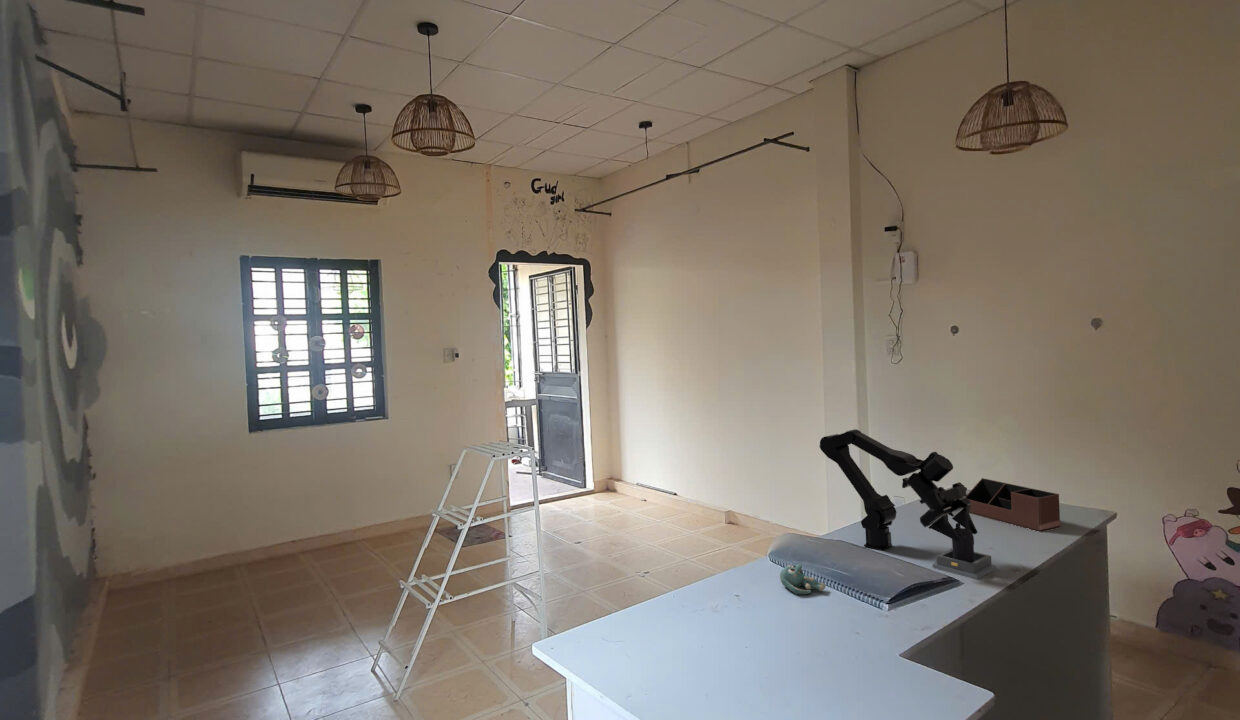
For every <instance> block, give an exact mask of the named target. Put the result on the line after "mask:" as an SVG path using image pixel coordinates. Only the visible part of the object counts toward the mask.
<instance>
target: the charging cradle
mask: <svg viewBox="0 0 1240 720" xmlns="http://www.w3.org/2000/svg"><path fill="white" fill-rule="evenodd" d="M933 567H934V569H936V568H937V570H941V571H945V572H949V573H952V574H956V575H959V576H963V577H966V578H970V579H975V580H979V579H981V578H982V577H984V576H986V575H988V574H989V573H992V572H993V571H995V570H997V564H993V563H992V556H991V555H988V554H984V553H982V552H981V553H980V552H976V551H974V562H972V563H970V562H965V561H961V560H957V559H953V548H951V549H948V550H946V551H944V552H942V553H940V554H937V555H936V562H934V563H932V568H933Z"/></svg>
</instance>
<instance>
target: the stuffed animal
mask: <svg viewBox="0 0 1240 720" xmlns="http://www.w3.org/2000/svg"><path fill="white" fill-rule="evenodd" d="M779 580H780V583H782V586H784V587H785V588H787V589H788V590H790V591H791V592H792V593H793V594H796V595H802V596H803V595H808V594H809V595H810V594H812V590H814V589H816V590H817V591H819V592H823V591H824V590H825V589H826V584H825V583H823V582H819V581H817V579H816V578H815V577H812V576H808V575H806V574H804V569H803V565H802V564H800V563H799V564H797V565H790V564H788V565H786V566H785V567H783V568H782V569H781V570H780V573H779ZM801 586H802V587H804V588H805V589H804V588H801Z"/></svg>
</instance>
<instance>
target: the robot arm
mask: <svg viewBox="0 0 1240 720" xmlns="http://www.w3.org/2000/svg"><path fill="white" fill-rule="evenodd" d="M849 445H853V446H855V447H857V448H859V449H860V450H862V451H864V452H866V453H867V454H870V455H871V456H873V457H874V458H876V459H878V460H879V461H881V462H883V464H884V465H885V468H887V469H888V470H889V471H890V472H892V473H893V474H895V475H896V476H898V477H902V476H906V475H909V474H911V475H909V477H905V478H904V477H903V478H902V483H901V487H902V489H905V488H909V487H910V488H911V489H912V491H914V492H915V495H917V496H918V498H920V500H919V503H920V504H921V505H923V504H925V505H926V506H927V508H928V510H927V511H926V512H925V513H924V514H923V515H921V516H920V517H919V522H920V524H921V525H922V526H923V527H924V528H928V529H929V530H933V531H934V532H935V531H936V532H938V533H939V534H942V535H944V536H946V537H948V538H949V539H951V540H952V539H953V540H955V541H957V542H959V541H960V540H961V538H960V537H959V535H958V534H957V533H956V531H955V530H954V528H955V527H953V526H952V525H951V523H950V521H949V517H950V516H951V517H952V518H951V520H953V521H954V522H956V523H959V524H960V527H962V528H964V529H965V512H968V521H969V529H970V530H971V531H972V533H973V535H977V533H978V530H977V528H976V526H975V524H974V522H973V519H972V517H971V515H970V513H969V510H970V507H971V505H970V504H971V502H970V501H969V500H968V498H966V496H967V494H968V493H967V491H968V488H967V487H966V486H965V485H964V484H963V483H961V482H960V481H959V482H956V483H953V484H952V487H951V488H949V489H945V488H944V487H942V486H939V487H938V485H936V483H937V482H938V483H939V482H940V481H941V480H943V478H944V477H946V476H947V475H948V474H949V473H950V472H951V471H952V470H953V469H954V466H953V464H952V461H951V460H949V458H947V457H945V456H944V455H942V454H939V453H938V452H937V451H932V452H930V453H929V454H928V456H927V457H926V458H925V459H920V458H917V457H916V456H915V455H914V454H911V453H909V452H905V451H902V450H899V449H898V450H896V449H893V448H891V447H889V446H887V445H885V444H883V443H881V442H879V441H878V440H876V439H874V438H872V437H870V436H869V435H867V434H865V433H863V432H861V430H858V429H856V428H854V429H850V430H847V431H845V432H843V433H840V434H838V433H836V434H830V435H825V436H823V437H821V439H820V441H819V445H818V446H819V448H820V450H821V451H822V453H823V454H824V455H825V456H826V457H827V458H828V459H829V460H831V461H833V462H835V463H836V464H837V466H838V467H839V468H840V470H841V472H842V473H843V474H844V476H845V477H846V478H847V480H848V481H849V483H850V484H851V485H852V487H853V488H854V490H855V491H856V492H857V494H858V495H859V497H860V498H861V500H862V501H863V507H864V508H863V509H864V512H865V514H866V516H864V517H863V519H862V520H861V521H860V524H861V526H862V528H863V529H864V530H865V544H863V547H864V546H865V548H870V549H876V550H880V551H885V550H887V549H889V548H890V547H892V546H893V543H892V532H891V531H890V526H892V524H893V521H894V520H895V519H896V518H897V513H898V512H897V509H896V504H895V503H894V502H893V501H891V498H890V497H889V496H888V494H884V495H881V494H879V493H878V492H877V491H876V489H875V488H874V487H873V485H872V484H871V483H870V481H869V480H868V478H867V477H866V475H865V474H864V473H863V471H862V470H861V469H860V467H859V466H858V465H857V463H856V462H855V460H854V459H853V457H852V456H851V453H850V446H849ZM917 471H918V472H917ZM935 482H936V483H935Z"/></svg>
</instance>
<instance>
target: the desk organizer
mask: <svg viewBox="0 0 1240 720" xmlns="http://www.w3.org/2000/svg"><path fill="white" fill-rule="evenodd" d="M966 494H967V496H965V497H966V498H968V500H969V501H970V502H971V504H970V505H971V507H970V510H969V514H972V515H974V516H978V517H983V518H985V519H986V518H987V519H989V520H993V521H997V522H1000V521H1001V522H1000V523H1004V522H1005V523H1004V524H1007V523H1008V525H1011V524H1013V525H1012V526H1015V525H1016V526H1015V527H1018V526H1020V527H1019V528H1022V527H1023V528H1022V529H1026V528H1029V529H1031V530H1030V531H1033V530H1035V531H1034V532H1037V531H1039V532H1038V533H1043V532H1044V531H1045V532H1047V530H1049V531H1052V530H1051V529H1053V530H1057V529H1056V528H1058V529H1061V527H1062V526H1061V514H1060V512H1061V511H1060V494H1059V493H1056V492H1051V491H1046V490H1045V491H1044V490H1040V489H1035V488H1031V487H1026V486H1021V485H1017V484H1012V483H1007V482H1001V481H997V480H993V479H989V478H983V477H982V478H980V480H979V481H978V482H977V483H976V484H975V485H974V486H973V488H972V489H971V490H970V491H969V492H968V493H966ZM1029 529H1028V530H1029Z"/></svg>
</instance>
